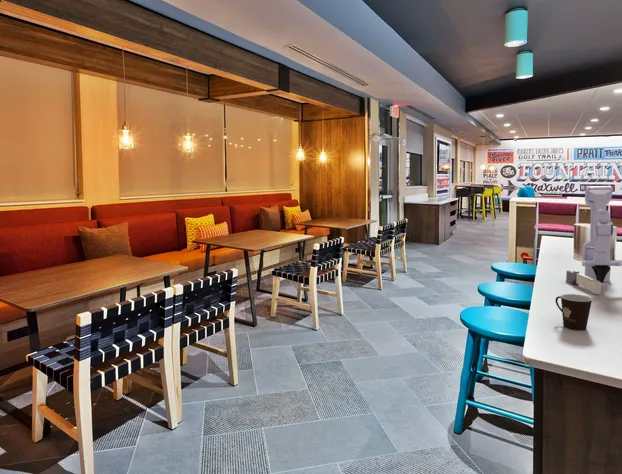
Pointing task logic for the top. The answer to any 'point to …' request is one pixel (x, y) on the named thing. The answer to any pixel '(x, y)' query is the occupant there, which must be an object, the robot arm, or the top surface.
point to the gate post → (572, 277)
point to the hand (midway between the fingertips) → (600, 282)
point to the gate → (589, 283)
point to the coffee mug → (575, 310)
